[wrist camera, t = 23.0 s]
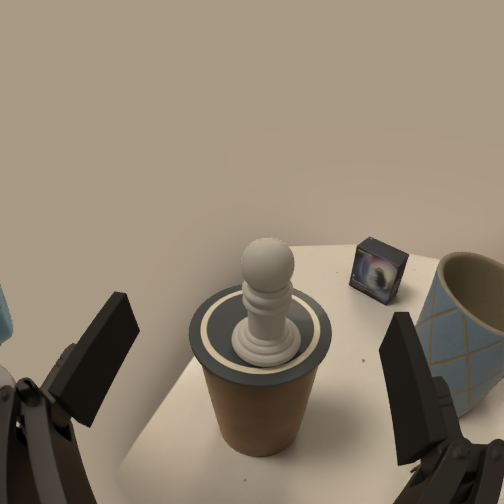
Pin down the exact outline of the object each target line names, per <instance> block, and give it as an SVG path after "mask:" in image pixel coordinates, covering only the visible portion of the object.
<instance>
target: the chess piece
mask: <svg viewBox="0 0 504 504" xmlns="http://www.w3.org/2000/svg"><path fill="white" fill-rule="evenodd" d="M293 271H294V257H293V254H292V251H291V250H290V248H289V247H288V246H287V245H286V244H285V243H284V242H282V241H280V240H278V239H275V238H261V239H257V240H255V241H253V242H252V243H250V244H249V245H248V246H247V247H246V249H245V250H244V252H243V255H242V258H241V272H242V275H243V277H244V279H245V281H244V282H243V285H242V292H243V297H242V301H243V304H244V306H245V308H246V309H247V310H248V317H246V318H244V319H243V320H242V321H240V322H239V323H238V324H237V325H236V327H235V329H234V331H233V334H232V346H233V348H234V350H235V352H236V353H237V355H238V356H239V357H240V358H241V359H242V360H244V361H245V362H247V363H249V364H252V365H255V366H260V367H273V366H278V365H281V364H283V363H286V362H287V361H289V360H290V359H291V358H293V357H294V355H295V354H296V353H297V351H298V350H299V348H300V344H301V336H300V332H299V329H298V328H297V326H296V325H295V324H294V323H293V322H292V321H291V320H289V319H288V318H286V311H287V310H288V309H289V307H290V306H291V304H292V293H293V285H292V283H291V281H290V279H291V277H292V274H293Z"/></svg>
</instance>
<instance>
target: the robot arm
mask: <svg viewBox="0 0 504 504" xmlns="http://www.w3.org/2000/svg"><path fill="white" fill-rule="evenodd" d="M139 332H140V330H139V327H138V324H137V322H136V319H135V317H134V314H133V311H132V309H131V306H130V303H129V300H128V297H127V294H126V293H120V292H114V293H113V294H112V295H111V297H110V298H109V299H108V301H107V302H106V303H105V305H104V306H103V308H102V309H101V310H100V312H99V313H98V314H97V316H96V317H95V318H94V320H93V321H92V323H91V324H90V326H89V327H88V328H87V330H86V331H85V333H84V334H83V335H82V337H81V338H80V340H79V341H78V343H77V344H74V343H72V344H71V345H70V346H68V347H67V348H66V349H65V350H64V352H63V353H62V354H61V356H60V359H58V361H57V362H56V365H54V367H53V368H52V370H51V371H50V373H49V374H48V376H47V378H46V379H45V381H44V382H43V384H42V386H41V387H40V388H38V387H37V385H36V384H35V383H34V382H33V381H32V380H31V379H30V378H22V379H20V380H19V381H18V382H17V383H16V385H15V386H14V389H13V388H12V387H11V386H10V385H4V386H3V387H1V388H0V504H97V502H96V500H95V497H94V495H93V492H92V490H91V487H90V484H89V481H88V478H87V475H86V472H85V469H84V466H83V463H82V459H81V456H80V453H79V449H78V445H77V441H76V437H75V433H74V429H73V424H72V422H71V420H70V419H71V417H73V418H74V419H75V420H76V421H77V422H79V423H81V424H83V425H85V426H87V427H89V428H90V427H91V425H92V423H93V421H94V418H95V416H96V414H97V412H98V410H99V408H100V406H101V404H102V402H103V400H104V398H105V395H106V394H107V392H108V390H109V388H110V386H111V384H112V382H113V380H114V378H115V376H116V374H117V372H118V370H119V368H120V367H121V365H122V363H123V361H124V359H125V357H126V355H127V353H128V352H129V350H130V348H131V346H132V344H133V343H134V341H135V339H136V337H137V335H138V334H139ZM12 334H13V324H12V320H11V316H10V313H9V309H8V306H7V303H6V300H5V297H4V294H3V291H2V288H1V285H0V346H1V344H2V343H3V342H5V341H6V340H8V339H9V338H10V337H11V336H12ZM379 354H380V358H381V363H382V367H383V372H384V377H385V382H386V387H387V392H388V398H389V403H390V409H391V415H392V422H393V429H394V436H395V444H396V453H397V462H398V466H401V465H406V464H410V463H414V462H416V461H417V460H419V459H420V460H421V464H419V465H418V466H416V467H414V468H413V469H412V470H411V471H410V472H411V473H412V472H414V471H415V473H414V474H413V476H412V477H411V479H410V480H409V482H408V483H407V485H406V486H405V488H404V489H403V491H402V492H401V493H400V495H399V496H398V497H397V499H396V500H395V502H394V503H393V504H497V503H498V500H499V496H500V492H501V487H502V483H503V478H504V441H503V440H501V439H495V440H493V441H492V442H491V443H489V444H472V443H471V442H470V441H469V440H468V439H467V438H464V437H463V435H462V433H461V429H460V425H459V421H458V417H457V413H456V410H455V406H454V405H453V399H452V397H451V393H450V390H449V386H448V384H447V383H446V381H445V380H444V379H443V377H442V376H436V377H432V375H431V372H430V369H429V366H428V363H427V360H426V357H425V354H424V351H423V348H422V345H421V343H420V340H419V337H418V335H417V332H416V329H415V327H414V324H413V322H412V319H411V317H410V314H409V312H395V313H394V315H393V318H392V320H391V323H390V325H389V328H388V330H387V332H386V335H385V337H384V339H383V342H382V344H381V346H380V348H379ZM16 422H19V423H20V426H19V427H17V426H16Z"/></svg>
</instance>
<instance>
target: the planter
mask: <svg viewBox="0 0 504 504" xmlns="http://www.w3.org/2000/svg"><path fill="white" fill-rule="evenodd" d="M415 329H416V332H417V335H418V337H419V340H420V343H421V345H422V348H423V351H424V354H425V357H426V360H427V363H428V366H429V369H430V372H431V375H432V377H436V376H442V377H443V379H444V380H445V381H446V383H447V384H448V386H449V390H450V393H451V397H452V399H453V405H454V406H455V410H456V413H457V417H458V418H459V417H460V416H462V415H464V414H465V413H467V412H468V411H470V410H471V409H472V408H473V407H474V406H475V405H476V404H477V403H479V402H480V401H481V400H482V399H483V398H484V397H485V396H486V395H487V394H488V393H489V392H490V391H491V390H492V389H493V388H494V387H495V386H496V385H497V383H498V382H499V381H500V380H501V379H502V378H503V377H504V265H503V264H501V263H499V262H497V261H495V260H493V259H490V258H488V257H485V256H483V255H479V254H475V253H470V252H454V253H450V254H448V255H446V256H444V257H443V258H442V259H441V260H440V262H439V264H438V267H437V270H436V273H435V276H434V279H433V282H432V285H431V288H430V290H429V293H428V296H427V298H426V301H425V303H424V306H423V309H422V311H421V314H420V316H419V319H418V321H417V324H416V326H415Z"/></svg>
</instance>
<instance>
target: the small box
mask: <svg viewBox="0 0 504 504" xmlns="http://www.w3.org/2000/svg"><path fill="white" fill-rule="evenodd" d="M408 257H409V254H407V253H405V252H403V251H401V250H398V249H396V248H394V247H392V246H390V245H387V244H385V243H383V242H381V241H378V240H376V239H374V238H372V237H368V238H367V239H366V240H364V241H363V242H362V243H360V244H359V245H357V248H356V254H355V259H354V264H353V268H352V273H351V278H350V282H349V285H350V286H352V287H354V288H356V289H358V290H359V291H361V292H363V293H365V294H367V295H368V296H370V297H372V298H374V299H376V300H377V301H379V302H381V303H383V304H384V305H387V304H388V303H389V302H390V301H391V300H392V299H393V297H394V296H395V295H396V294H397V292H398V288H399V285H400V282H401V279H402V276H403V273H404V269H405V266H406V263H407V259H408Z"/></svg>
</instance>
